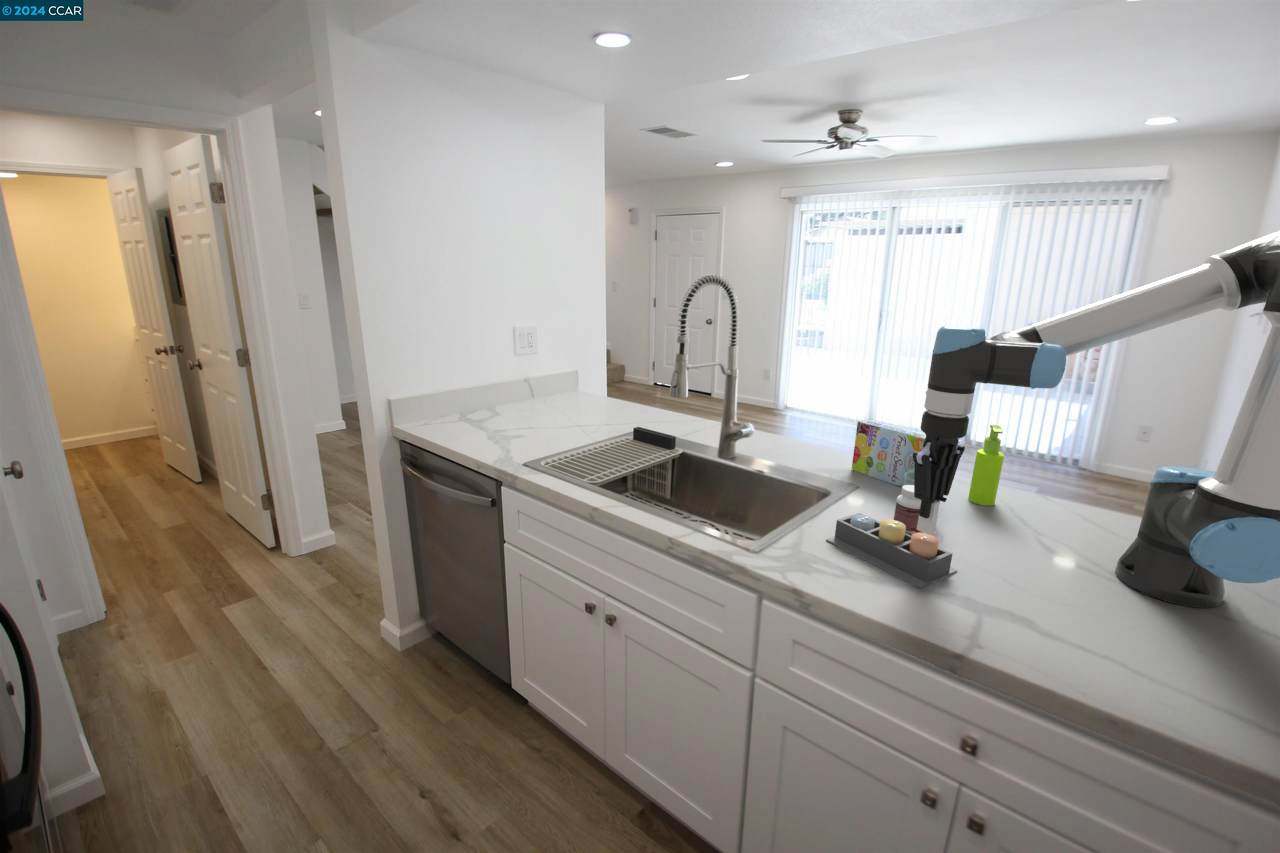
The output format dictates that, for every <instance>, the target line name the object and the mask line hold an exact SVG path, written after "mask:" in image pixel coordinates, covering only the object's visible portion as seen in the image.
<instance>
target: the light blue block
mask: <svg viewBox="0 0 1280 853" xmlns="http://www.w3.org/2000/svg"><path fill="white" fill-rule="evenodd" d="M852 515H853V516H852V517H851V521H850V524H851V525H853V526H855V527H857V528H860V529H862V530H864V531H869V530H871V529H874V524H875V520H876V519H875V518H872V517H870V516H868V515H865V514H863V515H854V514H852ZM864 515H865V516H864ZM874 519H875V520H874Z"/></svg>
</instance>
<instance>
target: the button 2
mask: <svg viewBox="0 0 1280 853" xmlns="http://www.w3.org/2000/svg"><path fill="white" fill-rule="evenodd" d="M879 522H880V528H879V535H878V537H879V538H881V539H883V540H886V541H888V542H890V543H892V544H894V545H898V544H901V543H903V542H904V536H905V530H906V526H905V524H903V523H902V522H899V521H896V520H894V519H888V518H887V519H882V520H880V521H879Z"/></svg>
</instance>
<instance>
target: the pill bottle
mask: <svg viewBox="0 0 1280 853" xmlns="http://www.w3.org/2000/svg"><path fill="white" fill-rule="evenodd" d="M901 493H902V495H901V494H900V495H898V496H897V498H896V502H895V508H894V515H893V520H896V521H899V522H902V523H903V524H905V526H906V530H905V533H907V534H909V535H912V534H914V533H923V532H921V531H919V530H916V529H917V523H918V518H919V512H920V506H921V500H920V499H918V498H915V497H914V485H904V486H903V487H901Z"/></svg>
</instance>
